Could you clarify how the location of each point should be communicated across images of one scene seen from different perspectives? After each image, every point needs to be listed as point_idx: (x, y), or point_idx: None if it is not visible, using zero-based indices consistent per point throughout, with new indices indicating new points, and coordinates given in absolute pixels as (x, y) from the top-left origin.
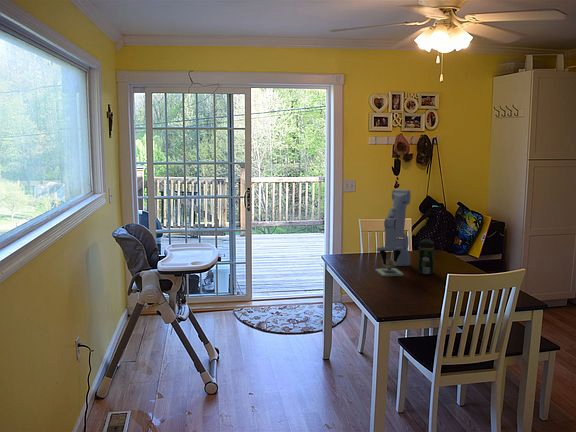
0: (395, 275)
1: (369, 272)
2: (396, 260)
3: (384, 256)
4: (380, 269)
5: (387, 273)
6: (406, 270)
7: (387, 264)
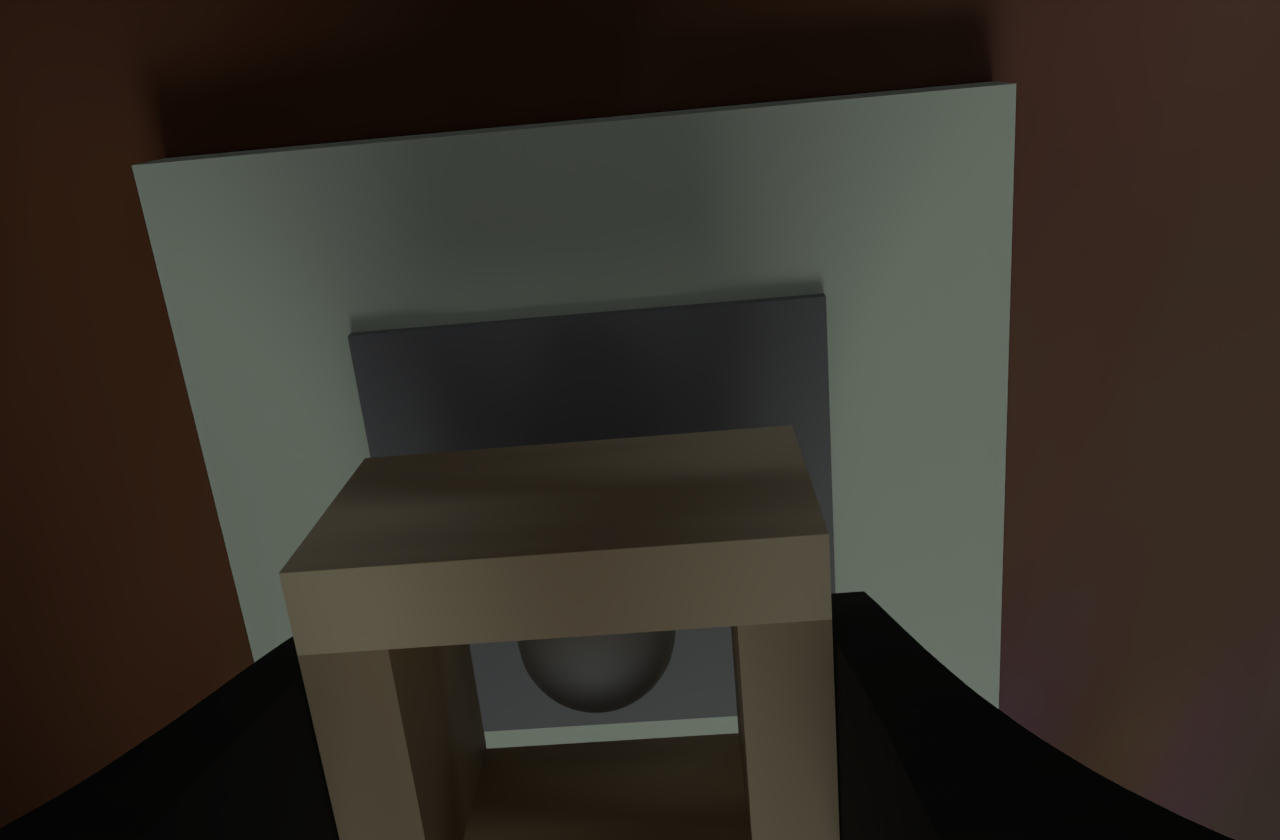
0: (473, 130)
1: (1243, 615)
2: (202, 708)
3: (1085, 811)
4: None
5: (756, 250)
6: (3, 767)
7: (763, 487)
